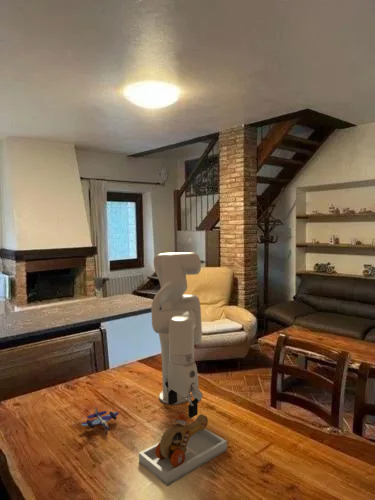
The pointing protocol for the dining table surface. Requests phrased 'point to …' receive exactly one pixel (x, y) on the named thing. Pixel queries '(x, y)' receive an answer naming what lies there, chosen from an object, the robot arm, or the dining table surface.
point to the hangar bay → (197, 454)
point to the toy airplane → (100, 419)
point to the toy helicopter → (179, 438)
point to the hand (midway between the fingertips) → (182, 409)
